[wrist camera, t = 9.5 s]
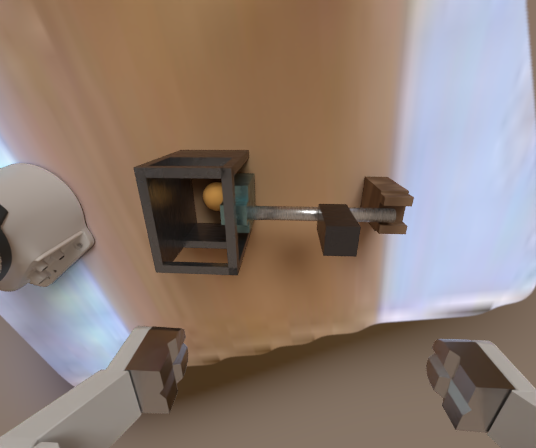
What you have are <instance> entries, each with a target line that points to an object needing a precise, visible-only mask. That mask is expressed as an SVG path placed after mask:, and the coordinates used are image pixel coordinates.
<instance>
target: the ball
mask: <svg viewBox="0 0 536 448" xmlns="http://www.w3.org/2000/svg"><path fill="white" fill-rule="evenodd" d="M203 201H204V203H205V205H206V206H207V207H208V208H210V209H211V210H214V211H220V204H221V203H222V202H223V193H222V183H221V182H213V183H211V184H209V185H208V186H207V187H206V188H205V189H204V192H203Z"/></svg>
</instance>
